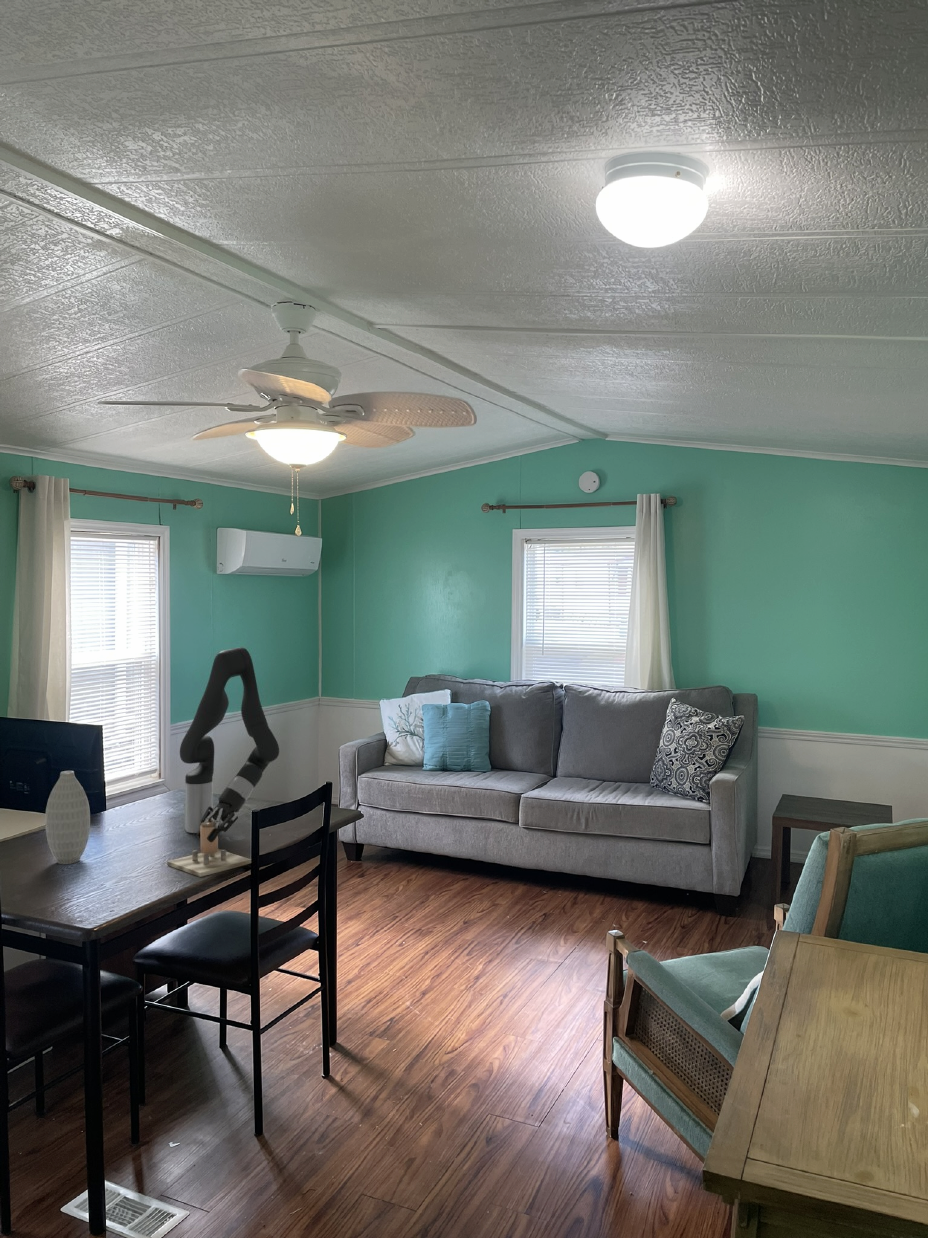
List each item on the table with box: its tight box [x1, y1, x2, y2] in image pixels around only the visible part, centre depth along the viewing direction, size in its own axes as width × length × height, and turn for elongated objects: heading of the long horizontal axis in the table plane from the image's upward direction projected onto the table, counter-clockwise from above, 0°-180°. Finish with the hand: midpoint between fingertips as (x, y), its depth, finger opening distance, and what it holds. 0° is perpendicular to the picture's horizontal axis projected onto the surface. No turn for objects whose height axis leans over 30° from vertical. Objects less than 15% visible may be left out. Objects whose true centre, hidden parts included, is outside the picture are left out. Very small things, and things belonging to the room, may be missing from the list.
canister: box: [199, 821, 219, 854], centre depth 279 cm, size 5×5×9 cm
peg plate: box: [166, 848, 252, 878], centre depth 280 cm, size 18×18×4 cm
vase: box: [44, 770, 91, 865], centre depth 283 cm, size 13×13×28 cm
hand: (204, 839), depth 278 cm, fingers closed on canister, 5 cm apart
